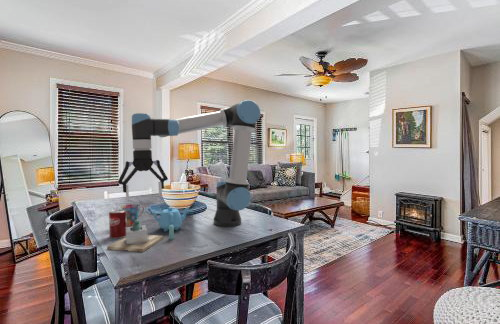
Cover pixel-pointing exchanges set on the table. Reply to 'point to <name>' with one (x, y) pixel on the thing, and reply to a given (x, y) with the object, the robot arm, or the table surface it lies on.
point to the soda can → (117, 223)
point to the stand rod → (171, 232)
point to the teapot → (170, 218)
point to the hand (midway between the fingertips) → (144, 198)
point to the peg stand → (135, 246)
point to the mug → (132, 213)
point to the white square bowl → (136, 235)
